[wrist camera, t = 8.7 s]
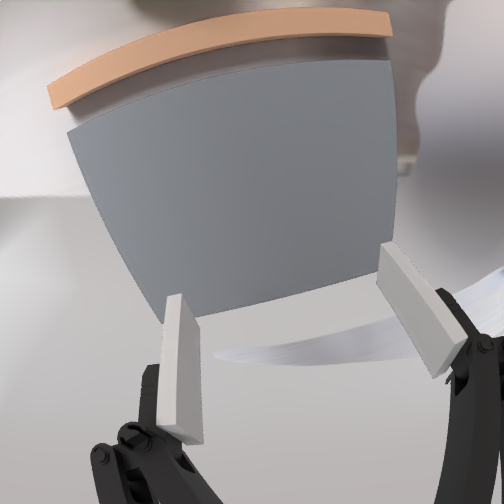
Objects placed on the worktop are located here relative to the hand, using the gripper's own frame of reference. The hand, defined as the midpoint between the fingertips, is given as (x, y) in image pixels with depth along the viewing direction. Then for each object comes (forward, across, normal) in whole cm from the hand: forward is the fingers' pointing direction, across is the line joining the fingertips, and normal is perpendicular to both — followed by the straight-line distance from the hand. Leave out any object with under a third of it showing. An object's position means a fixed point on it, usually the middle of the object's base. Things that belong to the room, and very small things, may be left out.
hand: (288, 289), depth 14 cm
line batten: (+10, 0, +13) cm, 17 cm away
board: (+10, 0, 0) cm, 10 cm away
